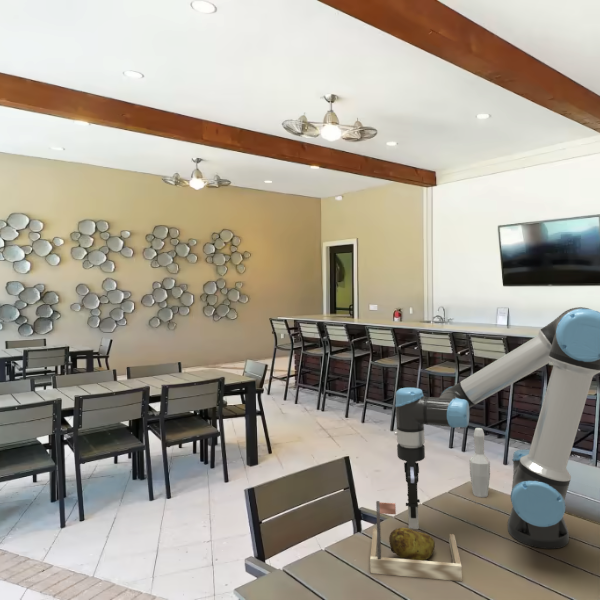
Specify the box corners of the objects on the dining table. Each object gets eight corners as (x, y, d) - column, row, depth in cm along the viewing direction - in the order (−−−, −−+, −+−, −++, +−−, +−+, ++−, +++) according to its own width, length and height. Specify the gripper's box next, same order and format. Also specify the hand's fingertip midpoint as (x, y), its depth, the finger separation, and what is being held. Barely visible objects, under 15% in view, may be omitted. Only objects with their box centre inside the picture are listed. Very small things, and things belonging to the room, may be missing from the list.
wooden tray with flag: (454, 547, 127) (452, 482, 127) (462, 581, 112) (460, 507, 112) (373, 540, 131) (371, 478, 131) (370, 573, 116) (368, 502, 116)
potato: (444, 565, 119) (443, 533, 119) (394, 570, 117) (393, 538, 117) (430, 547, 127) (429, 517, 127) (384, 552, 125) (383, 522, 125)
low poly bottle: (470, 497, 157) (469, 431, 157) (470, 489, 163) (468, 425, 163) (491, 499, 155) (489, 432, 155) (489, 491, 161) (488, 426, 161)
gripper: (396, 436, 141) (399, 515, 141) (397, 451, 128) (400, 538, 128) (423, 437, 139) (425, 517, 140) (426, 451, 126) (429, 540, 127)
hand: (413, 527), depth 134 cm, fingers closed
